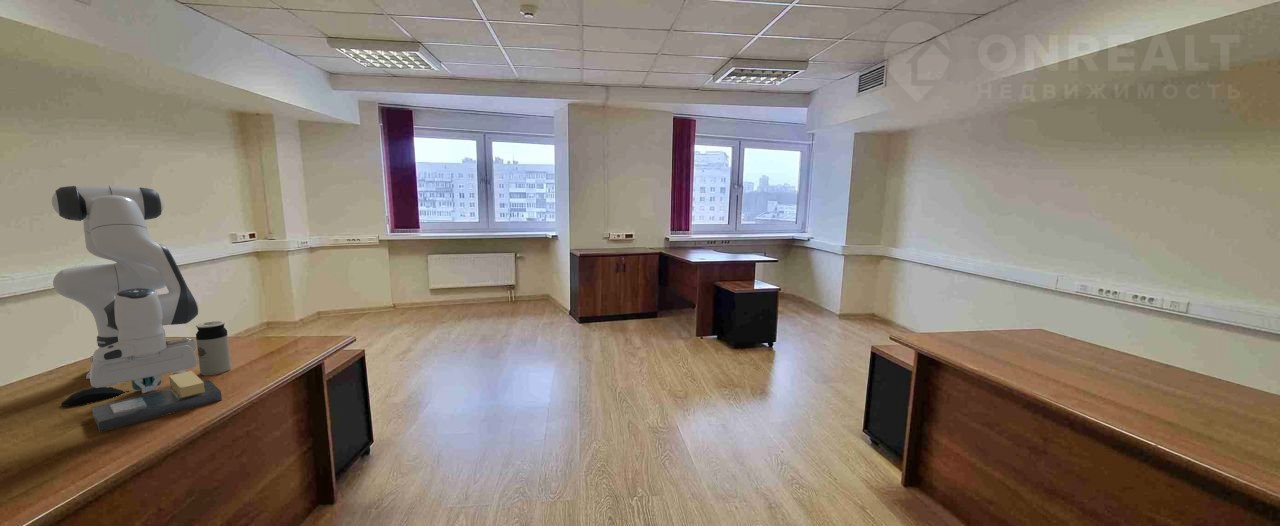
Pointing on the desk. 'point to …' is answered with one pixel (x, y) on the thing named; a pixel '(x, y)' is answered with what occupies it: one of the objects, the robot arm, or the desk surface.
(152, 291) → the robot arm
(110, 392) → the gaming mouse
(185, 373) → the beige block
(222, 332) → the travel mug
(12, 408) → the desk surface
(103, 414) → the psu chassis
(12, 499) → the desk surface
